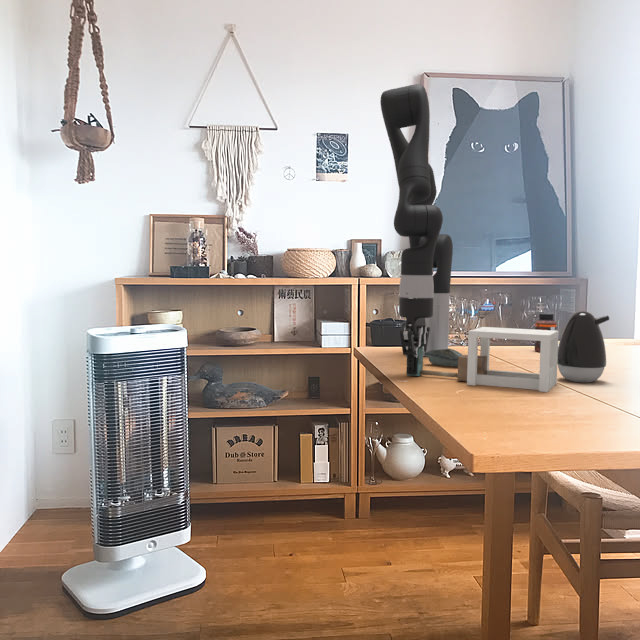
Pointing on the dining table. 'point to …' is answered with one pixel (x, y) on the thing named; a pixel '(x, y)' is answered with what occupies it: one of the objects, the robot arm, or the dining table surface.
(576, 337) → the pump dispenser
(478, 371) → the tethered block
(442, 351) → the stone
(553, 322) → the supplement bottle
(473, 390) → the dining table surface
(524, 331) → the white open frame stand
